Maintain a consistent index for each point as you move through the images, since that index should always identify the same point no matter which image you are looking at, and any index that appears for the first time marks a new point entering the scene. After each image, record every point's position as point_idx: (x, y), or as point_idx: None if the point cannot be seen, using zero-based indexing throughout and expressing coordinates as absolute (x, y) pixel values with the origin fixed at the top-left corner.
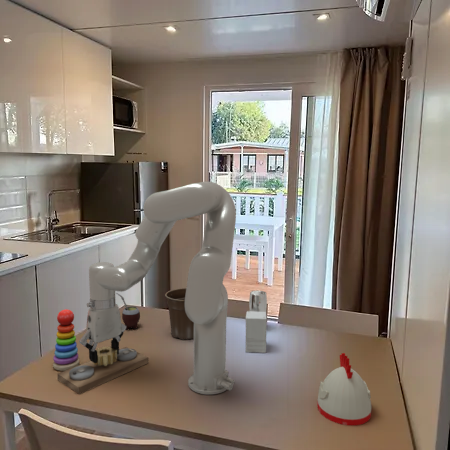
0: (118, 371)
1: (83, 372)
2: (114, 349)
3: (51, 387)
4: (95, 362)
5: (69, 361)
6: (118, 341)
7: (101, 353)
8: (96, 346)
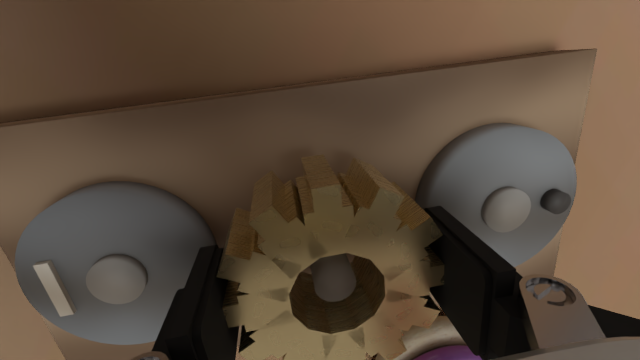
0: (278, 89)
1: (509, 179)
2: (227, 297)
3: (580, 213)
4: (439, 209)
5: (467, 353)
6: (157, 357)
7: (382, 272)
8: (531, 318)
